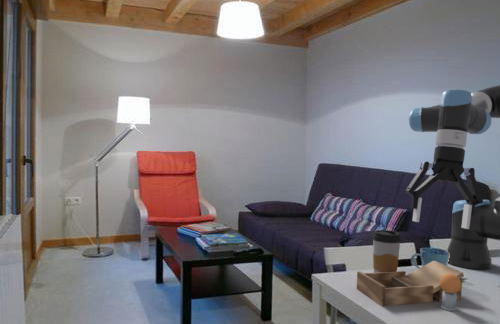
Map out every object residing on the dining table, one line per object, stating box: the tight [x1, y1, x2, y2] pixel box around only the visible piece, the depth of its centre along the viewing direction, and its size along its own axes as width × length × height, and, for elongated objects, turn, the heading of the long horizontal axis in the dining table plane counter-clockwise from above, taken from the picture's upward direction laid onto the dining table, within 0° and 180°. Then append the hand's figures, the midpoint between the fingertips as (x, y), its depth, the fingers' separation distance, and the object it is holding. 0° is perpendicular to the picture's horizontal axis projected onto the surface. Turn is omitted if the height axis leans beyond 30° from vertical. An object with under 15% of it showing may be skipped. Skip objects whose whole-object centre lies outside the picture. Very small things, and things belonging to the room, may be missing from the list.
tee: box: [440, 291, 458, 312], centre depth 113 cm, size 4×4×4 cm
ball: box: [440, 274, 461, 294], centre depth 113 cm, size 5×5×5 cm
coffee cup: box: [372, 229, 402, 273], centre depth 133 cm, size 8×8×15 cm
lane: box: [356, 260, 465, 307], centre depth 122 cm, size 26×13×8 cm, turn 104°
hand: (440, 225), depth 117 cm, fingers open, 13 cm apart
